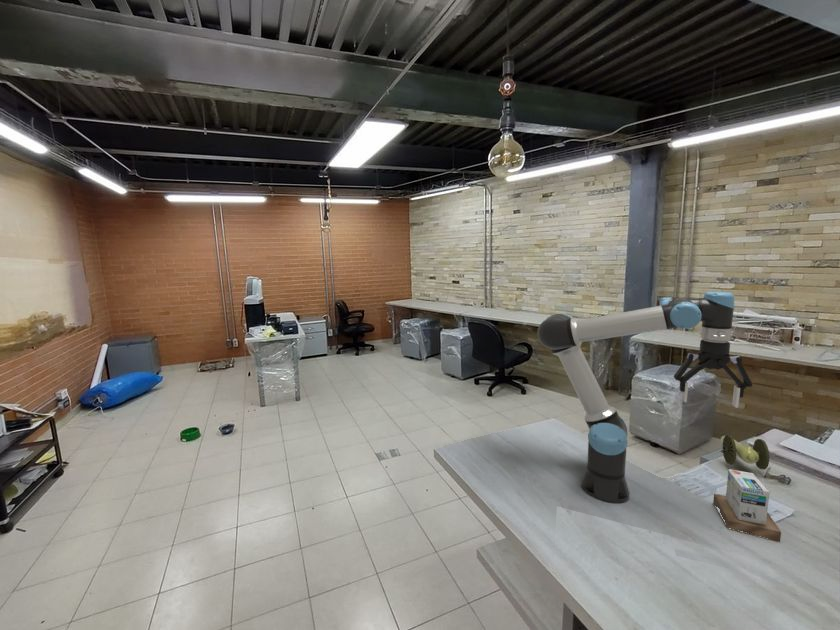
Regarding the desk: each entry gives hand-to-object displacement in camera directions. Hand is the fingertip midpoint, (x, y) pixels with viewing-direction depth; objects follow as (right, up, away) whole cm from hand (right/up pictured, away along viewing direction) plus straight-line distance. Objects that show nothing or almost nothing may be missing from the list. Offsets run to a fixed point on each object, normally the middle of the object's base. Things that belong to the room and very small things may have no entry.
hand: (709, 403), depth 121 cm
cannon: (+36, -30, +31) cm, 57 cm away
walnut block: (+5, -37, -7) cm, 38 cm away
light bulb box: (+5, -32, -7) cm, 33 cm away
